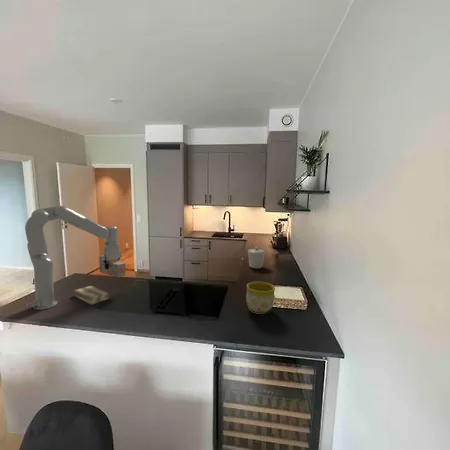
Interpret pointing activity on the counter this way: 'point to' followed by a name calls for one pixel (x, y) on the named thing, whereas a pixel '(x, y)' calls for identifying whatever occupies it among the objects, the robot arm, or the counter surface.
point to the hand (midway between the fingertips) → (111, 267)
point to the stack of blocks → (113, 267)
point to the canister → (256, 258)
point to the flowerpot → (260, 297)
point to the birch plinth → (91, 294)
